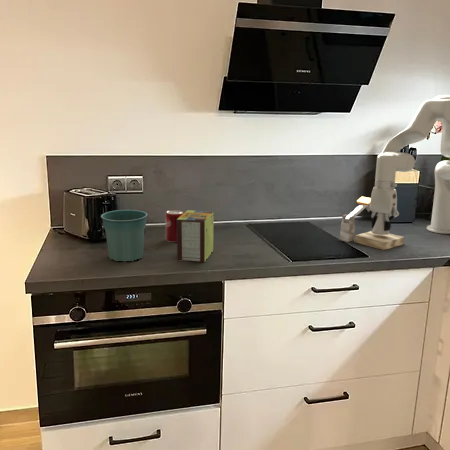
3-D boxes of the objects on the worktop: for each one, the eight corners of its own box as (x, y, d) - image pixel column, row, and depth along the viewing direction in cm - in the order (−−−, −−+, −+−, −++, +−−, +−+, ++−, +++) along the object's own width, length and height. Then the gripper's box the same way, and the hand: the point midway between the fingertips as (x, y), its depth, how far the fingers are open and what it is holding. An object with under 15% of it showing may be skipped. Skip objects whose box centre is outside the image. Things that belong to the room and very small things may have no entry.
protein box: (213, 250, 201) (214, 211, 197) (204, 262, 186) (205, 220, 183) (187, 248, 203) (187, 209, 199) (176, 260, 188) (176, 218, 184)
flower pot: (129, 267, 180) (127, 222, 176) (93, 259, 187) (91, 216, 184) (157, 255, 194) (156, 213, 190) (123, 248, 201) (121, 207, 197)
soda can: (165, 243, 210) (164, 214, 207) (166, 238, 217) (166, 210, 214) (183, 243, 210) (183, 214, 207) (184, 238, 217) (183, 210, 214)
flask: (390, 236, 209) (392, 211, 207) (371, 234, 211) (373, 210, 208) (388, 231, 216) (390, 207, 214) (370, 230, 218) (372, 206, 215)
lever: (353, 223, 214) (352, 218, 213) (341, 220, 218) (340, 215, 217) (374, 203, 221) (373, 198, 220) (362, 201, 226) (361, 196, 224)
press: (362, 233, 229) (364, 210, 226) (403, 244, 214) (406, 219, 211) (339, 239, 219) (341, 215, 216) (381, 251, 204) (383, 224, 201)
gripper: (409, 187, 205) (404, 231, 209) (371, 181, 217) (368, 223, 222) (398, 189, 200) (393, 234, 204) (361, 182, 213) (357, 226, 217)
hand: (380, 228), depth 213 cm, fingers closed on flask, 5 cm apart
